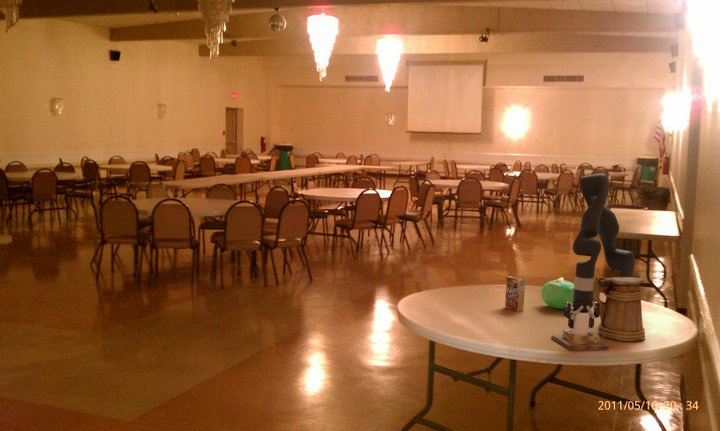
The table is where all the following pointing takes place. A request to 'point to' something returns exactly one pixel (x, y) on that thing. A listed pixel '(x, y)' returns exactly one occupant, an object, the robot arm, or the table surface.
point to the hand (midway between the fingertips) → (580, 327)
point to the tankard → (620, 308)
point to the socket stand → (579, 341)
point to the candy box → (515, 293)
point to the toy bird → (558, 293)
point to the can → (580, 324)
